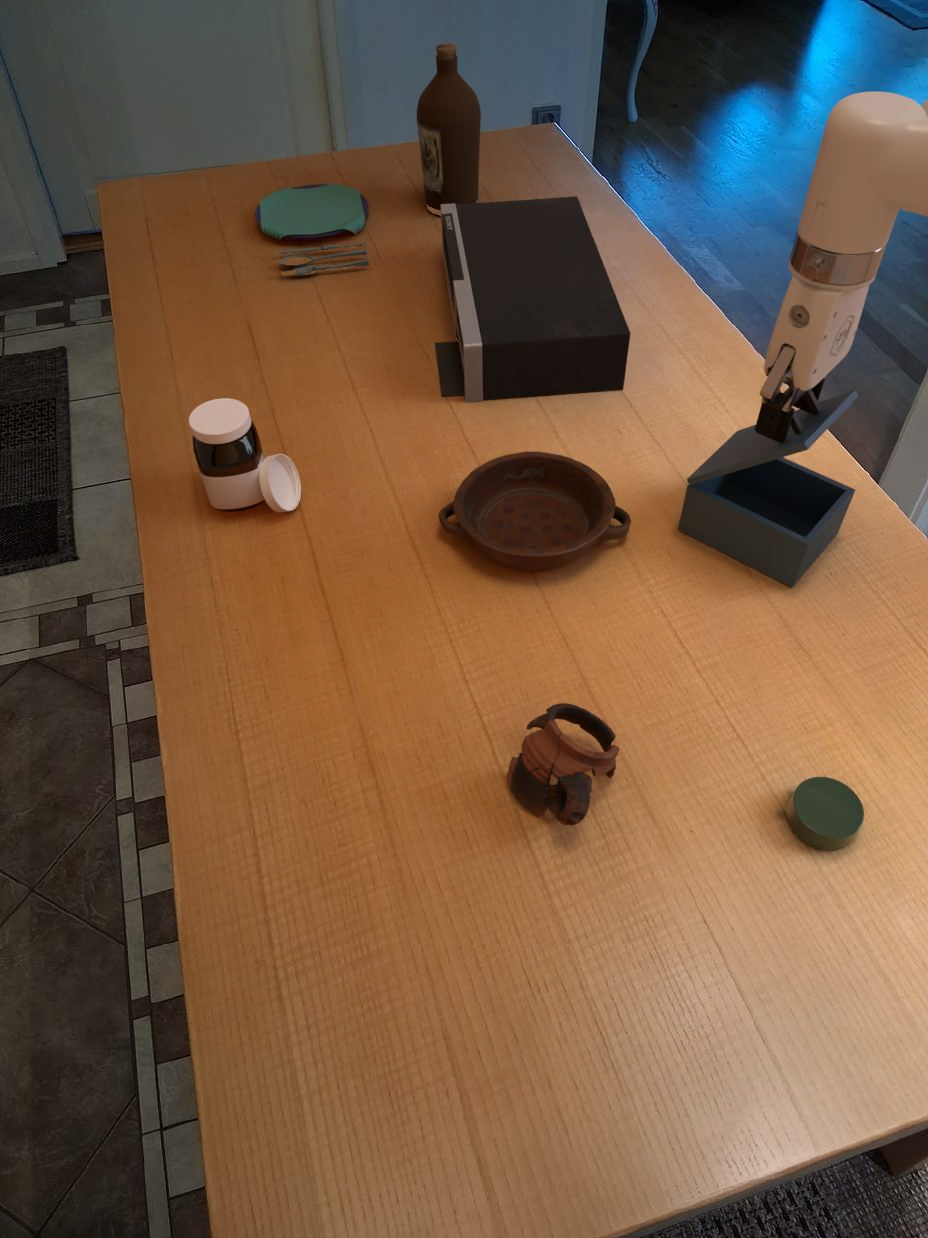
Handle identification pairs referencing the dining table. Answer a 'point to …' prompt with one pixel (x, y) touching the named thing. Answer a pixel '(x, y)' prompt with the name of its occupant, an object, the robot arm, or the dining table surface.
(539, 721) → the brown hollow curved piece
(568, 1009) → the dining table surface
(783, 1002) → the dining table surface
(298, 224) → the cutlery set
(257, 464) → the spread jar
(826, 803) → the dark green puck
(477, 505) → the dish
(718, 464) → the lunchbox lid
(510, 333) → the video player
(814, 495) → the lunchbox
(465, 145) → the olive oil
